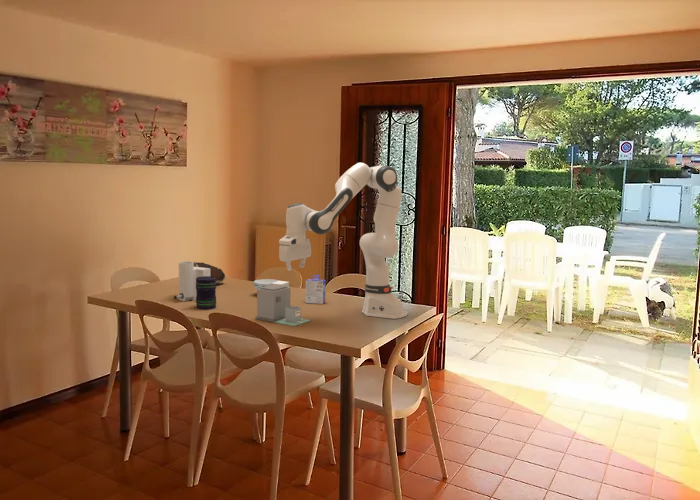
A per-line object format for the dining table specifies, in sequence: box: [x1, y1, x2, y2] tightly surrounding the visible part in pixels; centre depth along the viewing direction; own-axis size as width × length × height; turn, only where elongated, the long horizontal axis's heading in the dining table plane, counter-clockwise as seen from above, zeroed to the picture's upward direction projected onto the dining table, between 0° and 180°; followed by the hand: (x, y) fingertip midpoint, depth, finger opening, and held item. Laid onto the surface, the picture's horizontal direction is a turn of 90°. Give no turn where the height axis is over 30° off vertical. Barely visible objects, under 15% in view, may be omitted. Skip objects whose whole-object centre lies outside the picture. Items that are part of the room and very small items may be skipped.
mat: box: [274, 317, 311, 327], centre depth 272 cm, size 11×12×1 cm
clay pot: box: [193, 261, 226, 285], centre depth 353 cm, size 15×15×25 cm
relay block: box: [285, 305, 302, 322], centre depth 272 cm, size 5×5×6 cm
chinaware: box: [253, 278, 281, 291], centre depth 330 cm, size 15×15×8 cm
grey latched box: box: [255, 285, 291, 323], centre depth 278 cm, size 11×13×15 cm
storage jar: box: [195, 276, 217, 311], centre depth 296 cm, size 10×10×15 cm
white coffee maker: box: [173, 260, 210, 302], centre depth 313 cm, size 16×19×20 cm
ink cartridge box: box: [304, 274, 327, 305], centre depth 313 cm, size 10×6×14 cm, turn 78°
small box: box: [271, 280, 290, 288], centre depth 299 cm, size 8×6×13 cm
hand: (295, 268), depth 275 cm, fingers open, 8 cm apart
